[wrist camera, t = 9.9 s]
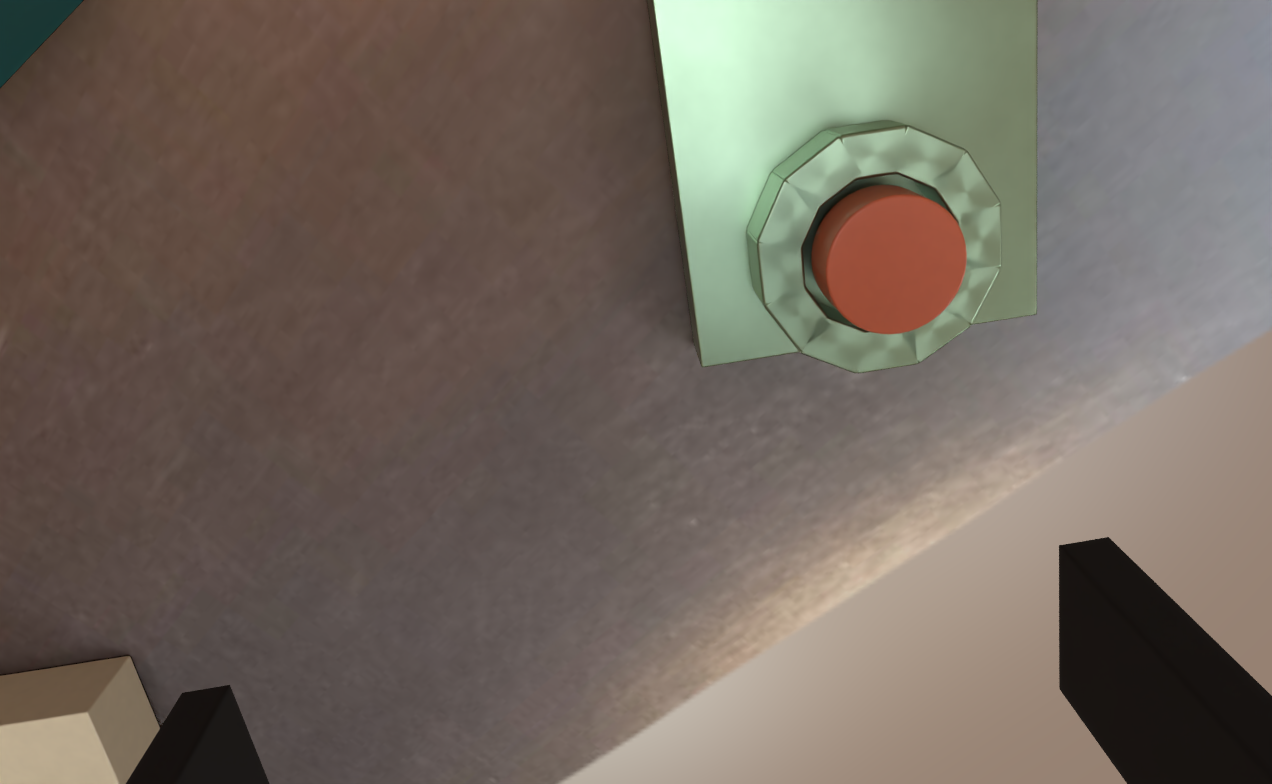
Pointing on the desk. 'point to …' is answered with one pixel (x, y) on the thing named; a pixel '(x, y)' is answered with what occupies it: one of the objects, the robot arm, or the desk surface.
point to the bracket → (27, 29)
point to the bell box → (843, 158)
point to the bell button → (889, 259)
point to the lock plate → (74, 724)
